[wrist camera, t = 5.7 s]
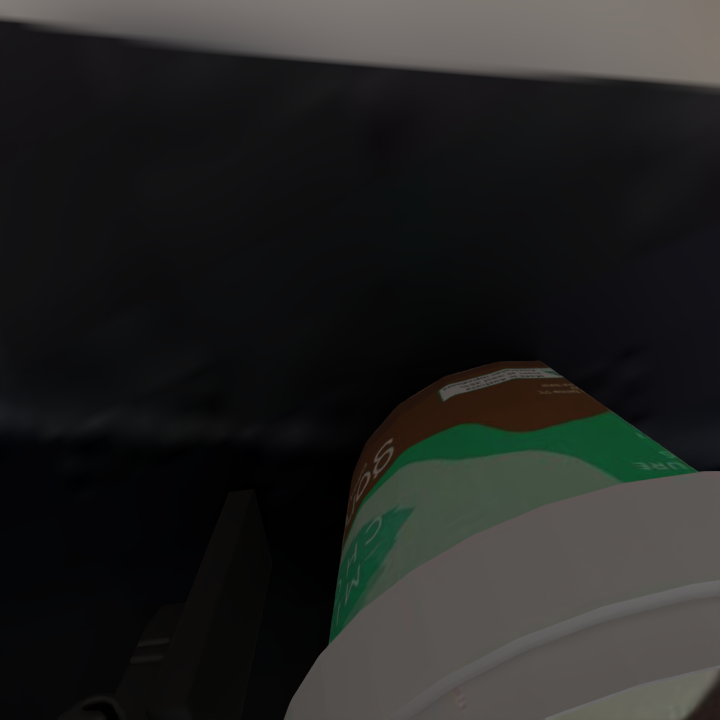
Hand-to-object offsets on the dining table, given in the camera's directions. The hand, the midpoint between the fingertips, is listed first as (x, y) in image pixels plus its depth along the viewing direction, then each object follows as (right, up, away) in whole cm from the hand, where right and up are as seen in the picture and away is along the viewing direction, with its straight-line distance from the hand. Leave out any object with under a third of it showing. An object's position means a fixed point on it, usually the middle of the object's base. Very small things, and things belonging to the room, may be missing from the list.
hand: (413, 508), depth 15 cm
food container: (0, 0, +1) cm, 1 cm away
